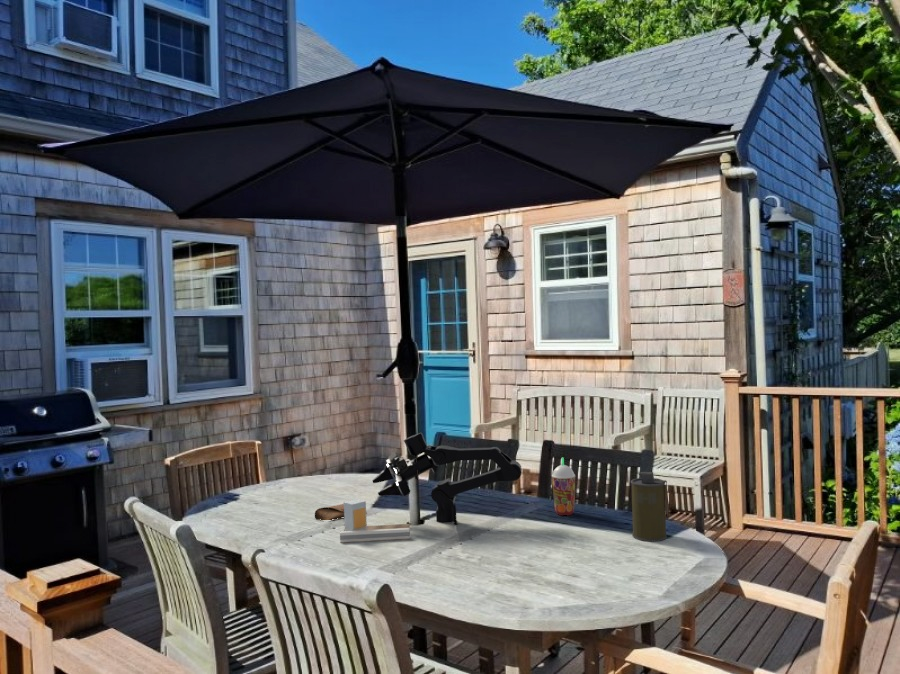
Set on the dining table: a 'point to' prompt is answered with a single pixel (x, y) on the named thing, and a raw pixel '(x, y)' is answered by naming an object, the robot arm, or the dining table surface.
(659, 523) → the canister
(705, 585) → the dining table surface
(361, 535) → the rail
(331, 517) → the sunglasses case
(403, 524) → the shelf board
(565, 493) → the smoothie
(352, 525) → the carton
